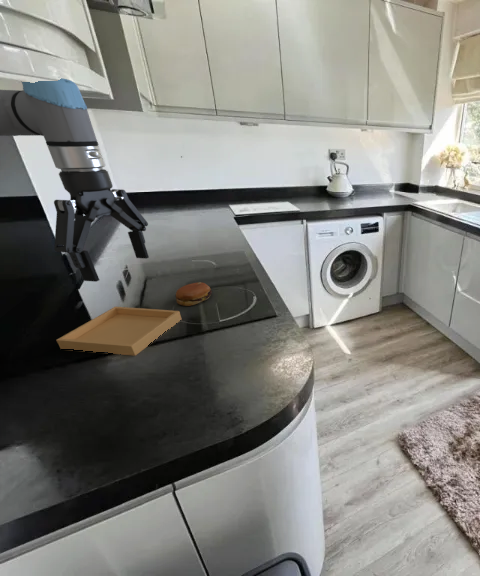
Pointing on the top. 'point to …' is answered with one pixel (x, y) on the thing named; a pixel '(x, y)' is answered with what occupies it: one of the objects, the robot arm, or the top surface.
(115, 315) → the tray
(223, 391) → the top surface
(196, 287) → the burger
